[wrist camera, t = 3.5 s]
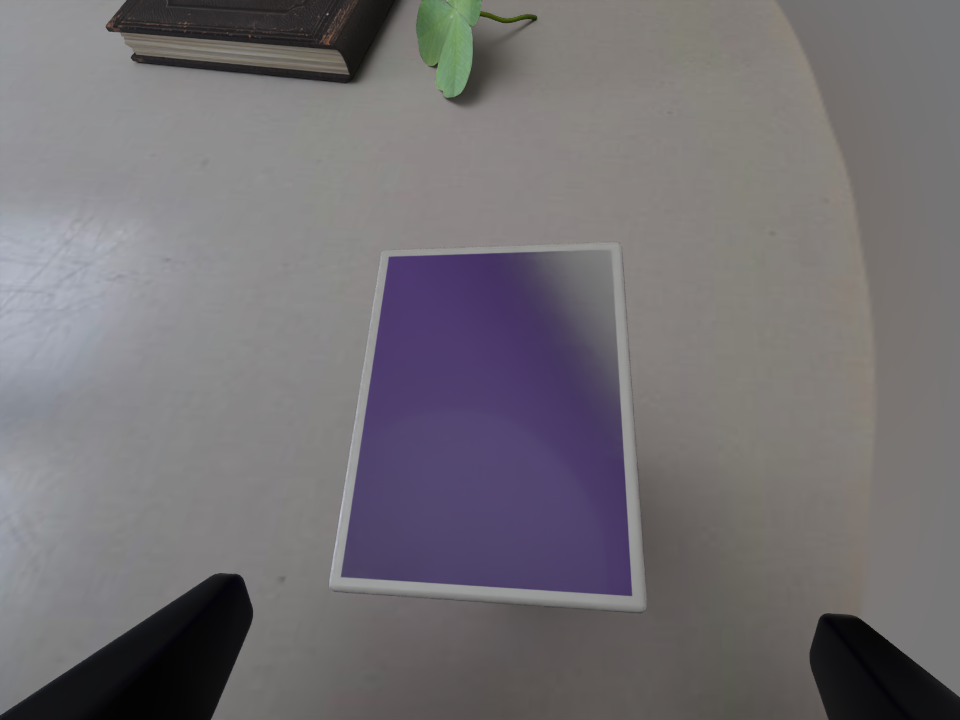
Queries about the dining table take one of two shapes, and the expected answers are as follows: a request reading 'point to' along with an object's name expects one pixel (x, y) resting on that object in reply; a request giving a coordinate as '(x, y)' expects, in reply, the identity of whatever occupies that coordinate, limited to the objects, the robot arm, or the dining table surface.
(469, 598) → the purple white-banded prism
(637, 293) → the dining table surface
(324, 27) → the hardcover book
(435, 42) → the seedling
